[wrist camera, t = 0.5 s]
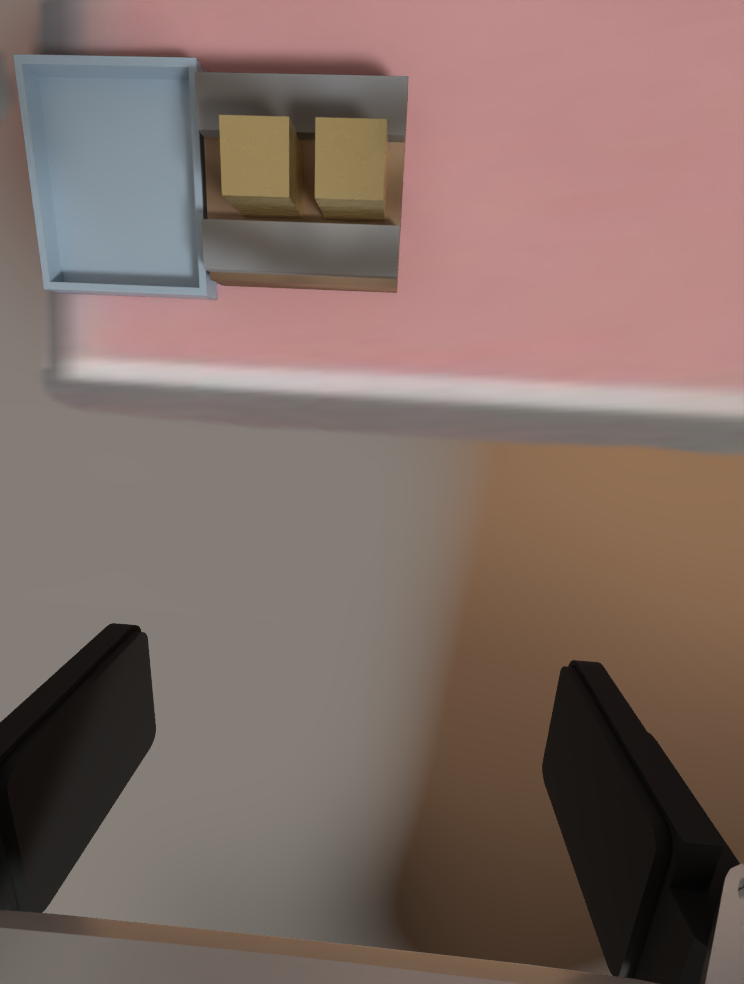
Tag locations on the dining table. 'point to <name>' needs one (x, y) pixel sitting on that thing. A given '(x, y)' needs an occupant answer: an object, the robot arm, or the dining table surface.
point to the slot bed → (312, 239)
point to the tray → (116, 173)
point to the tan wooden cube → (261, 165)
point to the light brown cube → (351, 168)
